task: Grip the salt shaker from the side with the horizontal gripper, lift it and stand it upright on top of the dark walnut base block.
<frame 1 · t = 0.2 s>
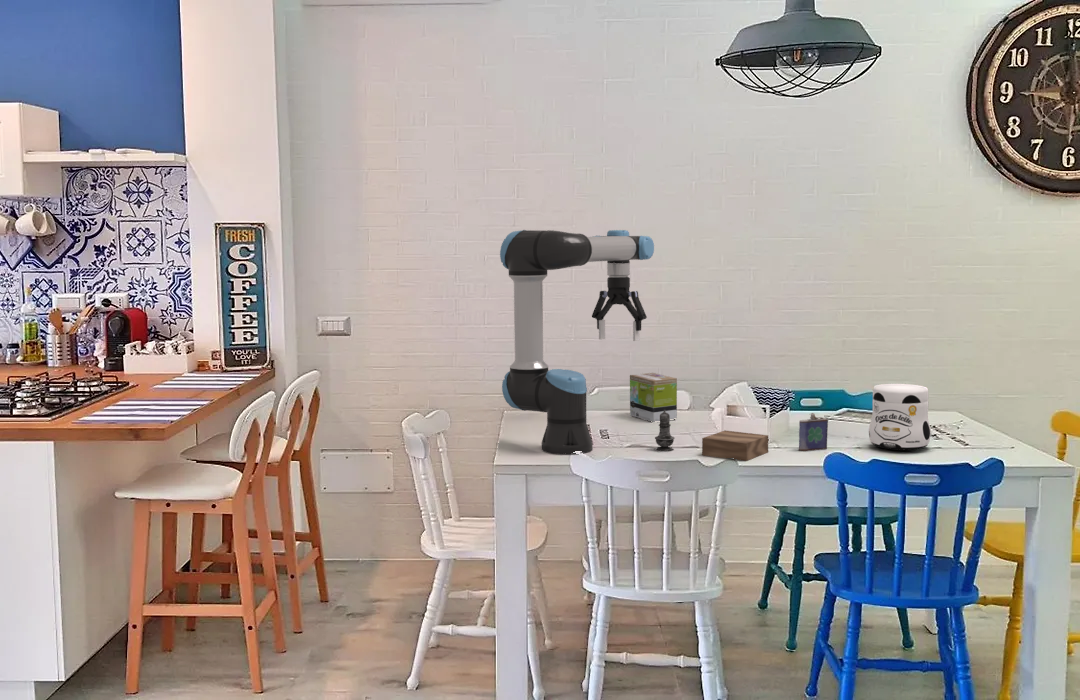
hand: (619, 340, 372), 27 cm above the table, tool pointing down, fingers open, 13 cm apart
base block: (735, 453, 320), on the table
flask: (812, 450, 325), on the table
tea box: (653, 419, 378), on the table
salt shaker: (664, 450, 327), on the table
milk container: (899, 448, 326), on the table
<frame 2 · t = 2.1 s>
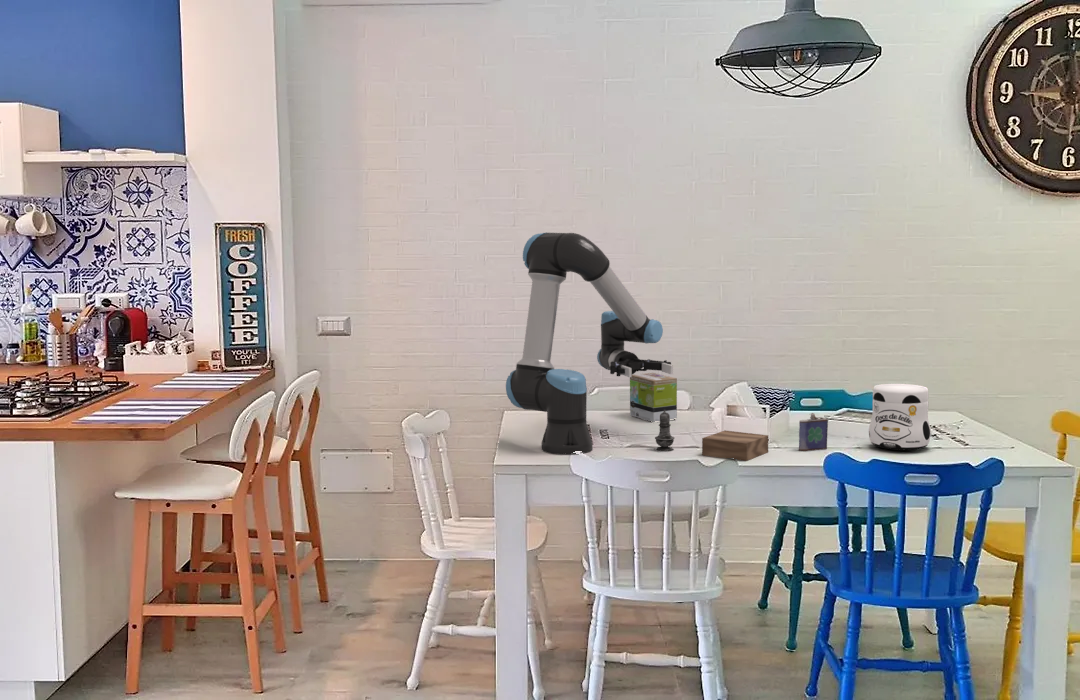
hand: (651, 371, 334), 22 cm above the table, tool horizontal, fingers open, 13 cm apart
nothing on the table moved.
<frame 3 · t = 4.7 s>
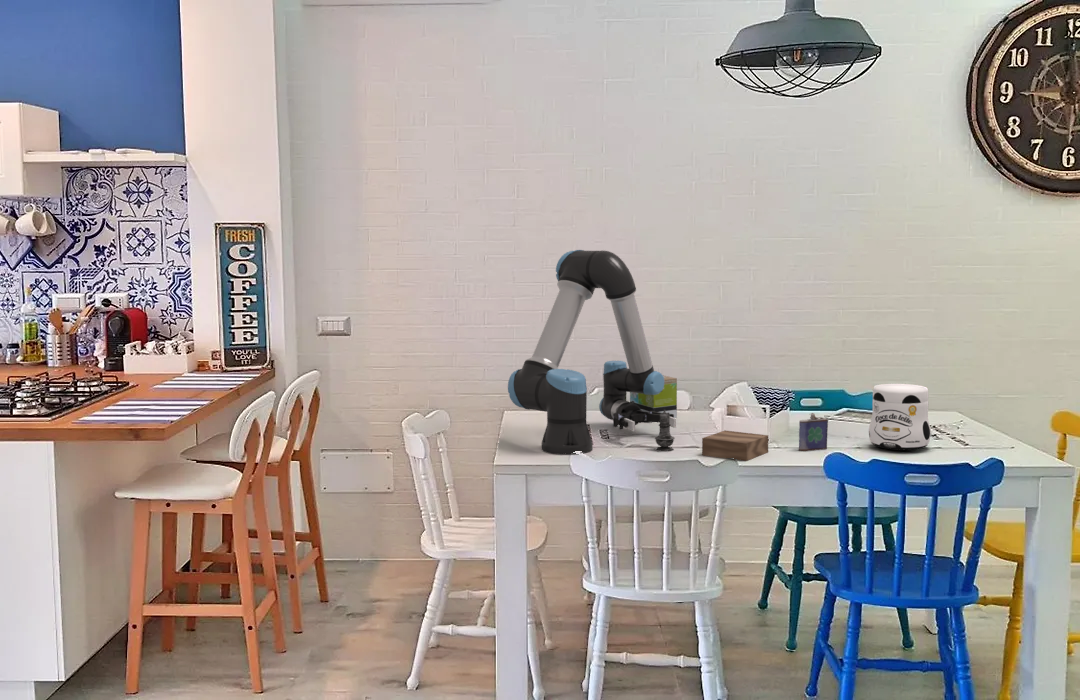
hand: (654, 424, 334), 6 cm above the table, tool horizontal, fingers open, 13 cm apart
nothing on the table moved.
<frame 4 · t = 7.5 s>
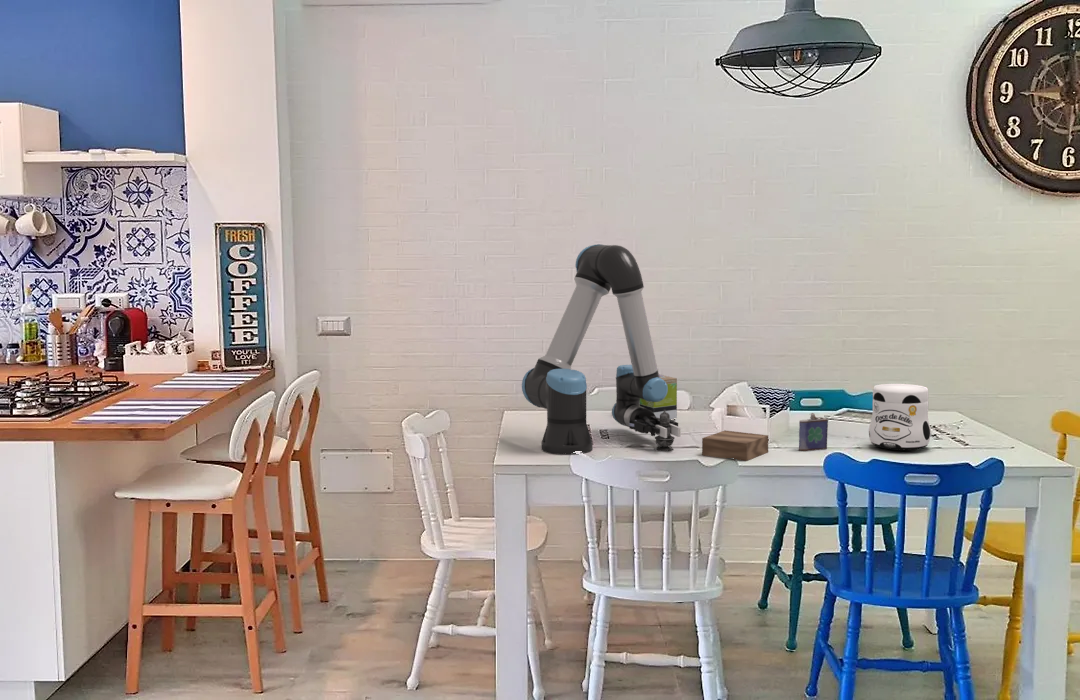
hand: (672, 432, 321), 6 cm above the table, tool horizontal, fingers closed on salt shaker, 3 cm apart
salt shaker: (664, 450, 327), on the table, touching gripper
everything else where it was.
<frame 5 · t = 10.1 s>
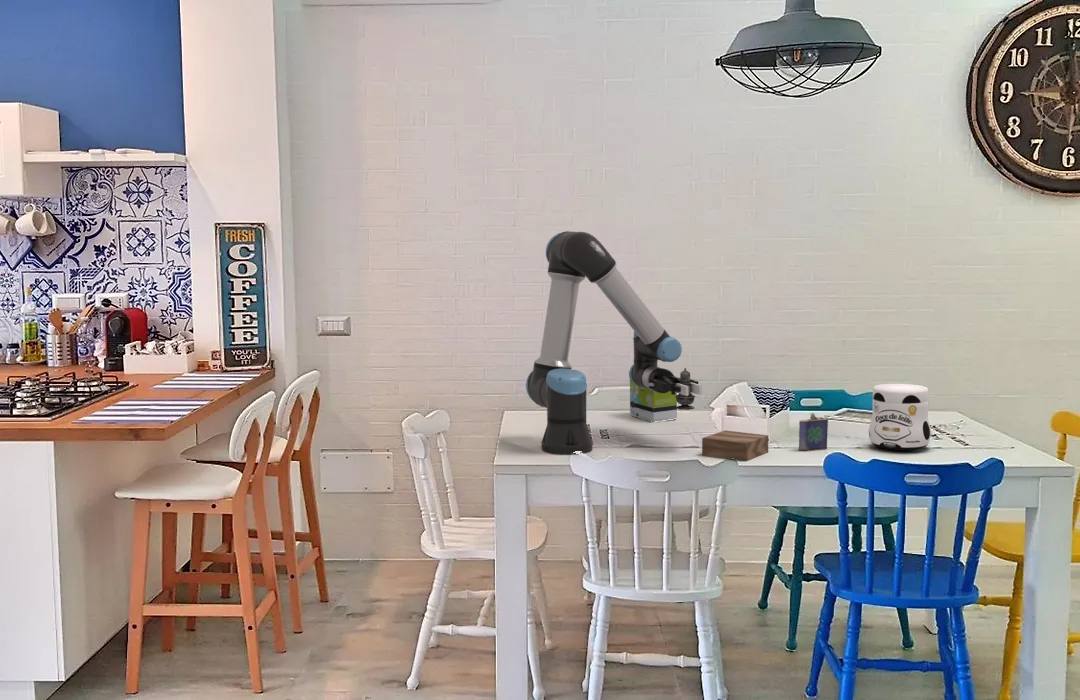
hand: (693, 390, 319), 18 cm above the table, tool horizontal, fingers closed on salt shaker, 3 cm apart
salt shaker: (685, 408, 325), point 12 cm above the table, touching gripper
everything else where it was.
when the fingers open (11 cm above the table, at t = 12.9 s): salt shaker stays where it is, resting on base block.
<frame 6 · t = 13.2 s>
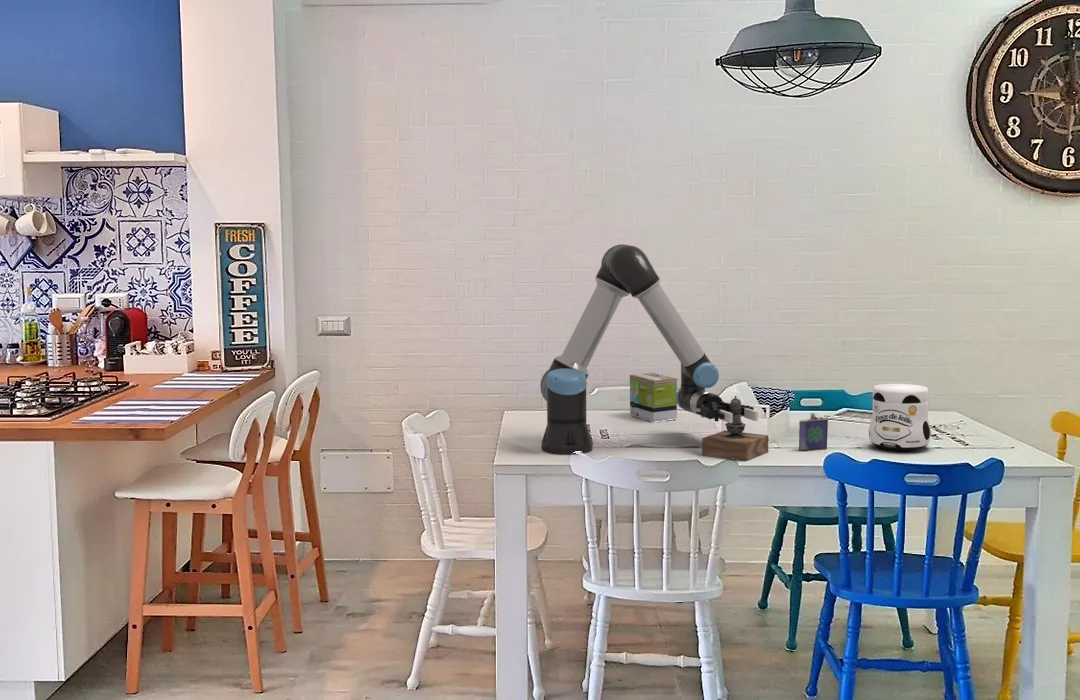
hand: (743, 417, 314), 11 cm above the table, tool horizontal, fingers open, 7 cm apart
salt shaker: (735, 437, 320), point 5 cm above the table, touching base block
everything else where it was.
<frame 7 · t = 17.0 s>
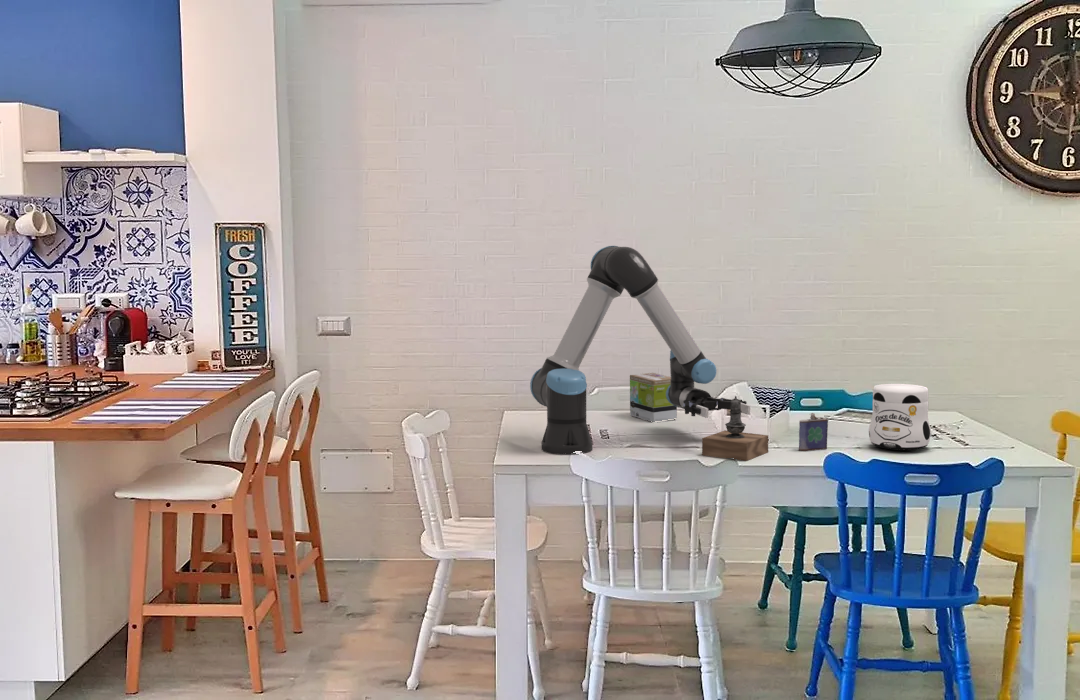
hand: (728, 411, 323), 12 cm above the table, tool horizontal, fingers open, 13 cm apart
nothing on the table moved.
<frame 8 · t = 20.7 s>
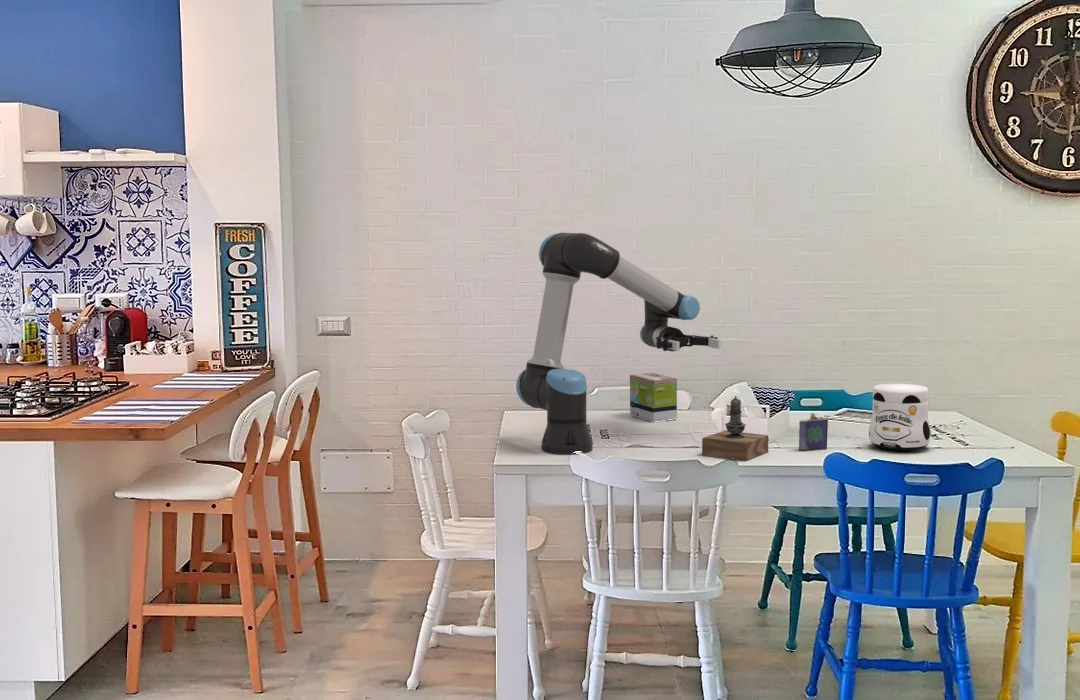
hand: (699, 345, 330), 30 cm above the table, tool horizontal, fingers open, 13 cm apart
nothing on the table moved.
at the end: salt shaker inside the target area on the base block (0.0 cm from its centre), point 4.8 cm above the base block's base; salt shaker tilted 0°; the gripper is holding nothing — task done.
